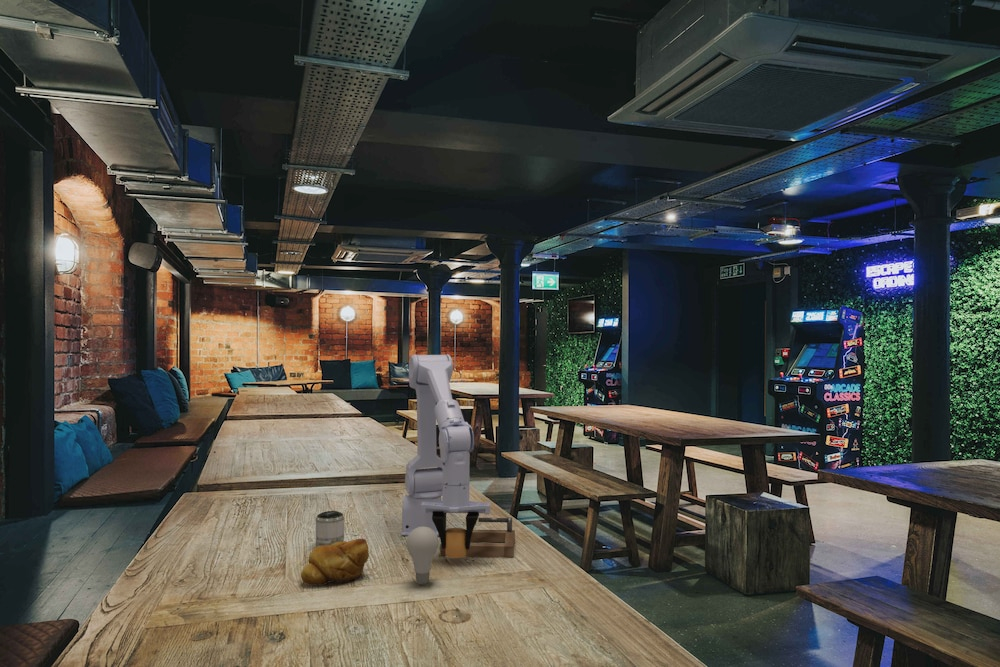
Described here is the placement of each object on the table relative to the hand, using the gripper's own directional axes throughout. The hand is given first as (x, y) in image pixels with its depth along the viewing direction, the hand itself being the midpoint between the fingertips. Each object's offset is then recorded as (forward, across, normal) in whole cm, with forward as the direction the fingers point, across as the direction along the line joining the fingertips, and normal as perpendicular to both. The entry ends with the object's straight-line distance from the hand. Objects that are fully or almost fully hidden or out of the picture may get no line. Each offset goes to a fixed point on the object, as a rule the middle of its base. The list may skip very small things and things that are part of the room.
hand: (455, 547), depth 131 cm
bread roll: (+4, -23, -10) cm, 25 cm away
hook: (+3, +8, +15) cm, 17 cm away
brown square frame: (+3, +4, +10) cm, 11 cm away
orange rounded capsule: (+2, 0, 0) cm, 2 cm away
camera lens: (+4, -30, +9) cm, 31 cm away
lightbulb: (+3, -5, -12) cm, 13 cm away
